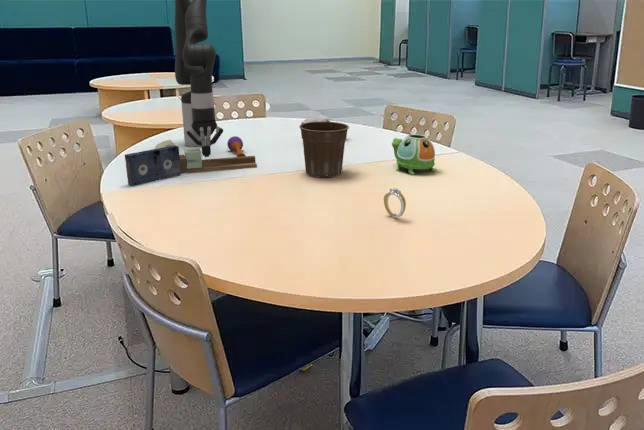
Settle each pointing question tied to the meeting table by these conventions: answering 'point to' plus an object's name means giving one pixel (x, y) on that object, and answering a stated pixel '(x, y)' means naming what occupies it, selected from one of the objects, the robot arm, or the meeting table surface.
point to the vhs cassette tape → (152, 165)
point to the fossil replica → (164, 144)
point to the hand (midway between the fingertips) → (206, 156)
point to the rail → (219, 164)
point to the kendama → (236, 145)
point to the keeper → (193, 158)
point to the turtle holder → (414, 153)
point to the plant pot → (323, 147)
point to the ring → (401, 198)
